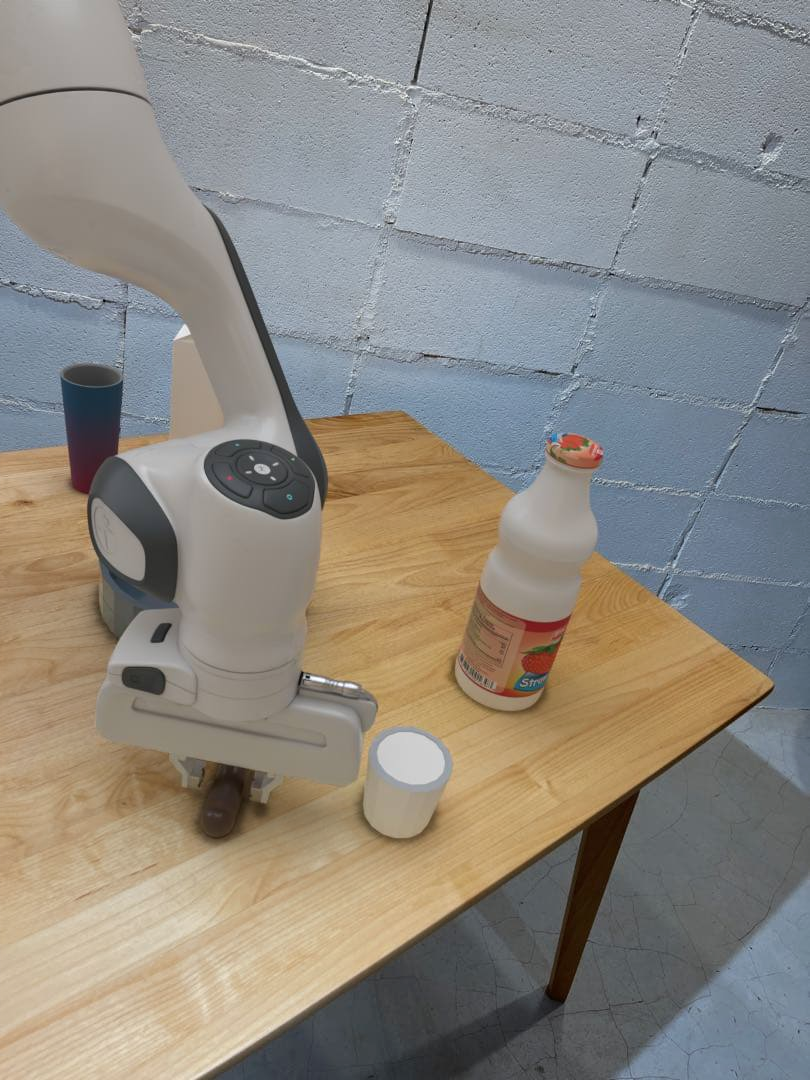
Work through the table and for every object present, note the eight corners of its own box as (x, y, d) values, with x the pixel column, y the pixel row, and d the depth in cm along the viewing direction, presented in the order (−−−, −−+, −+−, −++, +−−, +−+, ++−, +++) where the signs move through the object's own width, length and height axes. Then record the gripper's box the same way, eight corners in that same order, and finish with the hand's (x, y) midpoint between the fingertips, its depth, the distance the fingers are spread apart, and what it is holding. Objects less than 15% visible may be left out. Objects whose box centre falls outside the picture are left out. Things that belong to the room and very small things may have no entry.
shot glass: (338, 805, 68) (351, 748, 64) (396, 768, 73) (411, 712, 69) (394, 863, 64) (411, 806, 61) (451, 821, 69) (470, 764, 65)
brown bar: (231, 847, 63) (233, 826, 62) (193, 840, 63) (194, 818, 61) (269, 724, 74) (272, 703, 73) (236, 717, 74) (238, 697, 73)
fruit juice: (466, 641, 90) (535, 410, 75) (548, 672, 88) (635, 441, 73) (441, 693, 82) (513, 447, 67) (530, 728, 80) (624, 483, 65)
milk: (167, 479, 106) (172, 314, 94) (177, 457, 111) (183, 298, 100) (214, 486, 107) (225, 323, 95) (222, 464, 112) (233, 307, 100)
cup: (52, 491, 99) (47, 376, 91) (84, 468, 104) (82, 358, 96) (104, 507, 98) (103, 392, 90) (133, 483, 104) (134, 373, 96)
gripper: (387, 661, 61) (358, 783, 69) (118, 606, 61) (118, 736, 68) (377, 721, 56) (347, 846, 63) (83, 661, 55) (87, 795, 63)
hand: (226, 789), depth 66 cm, fingers open, 4 cm apart
